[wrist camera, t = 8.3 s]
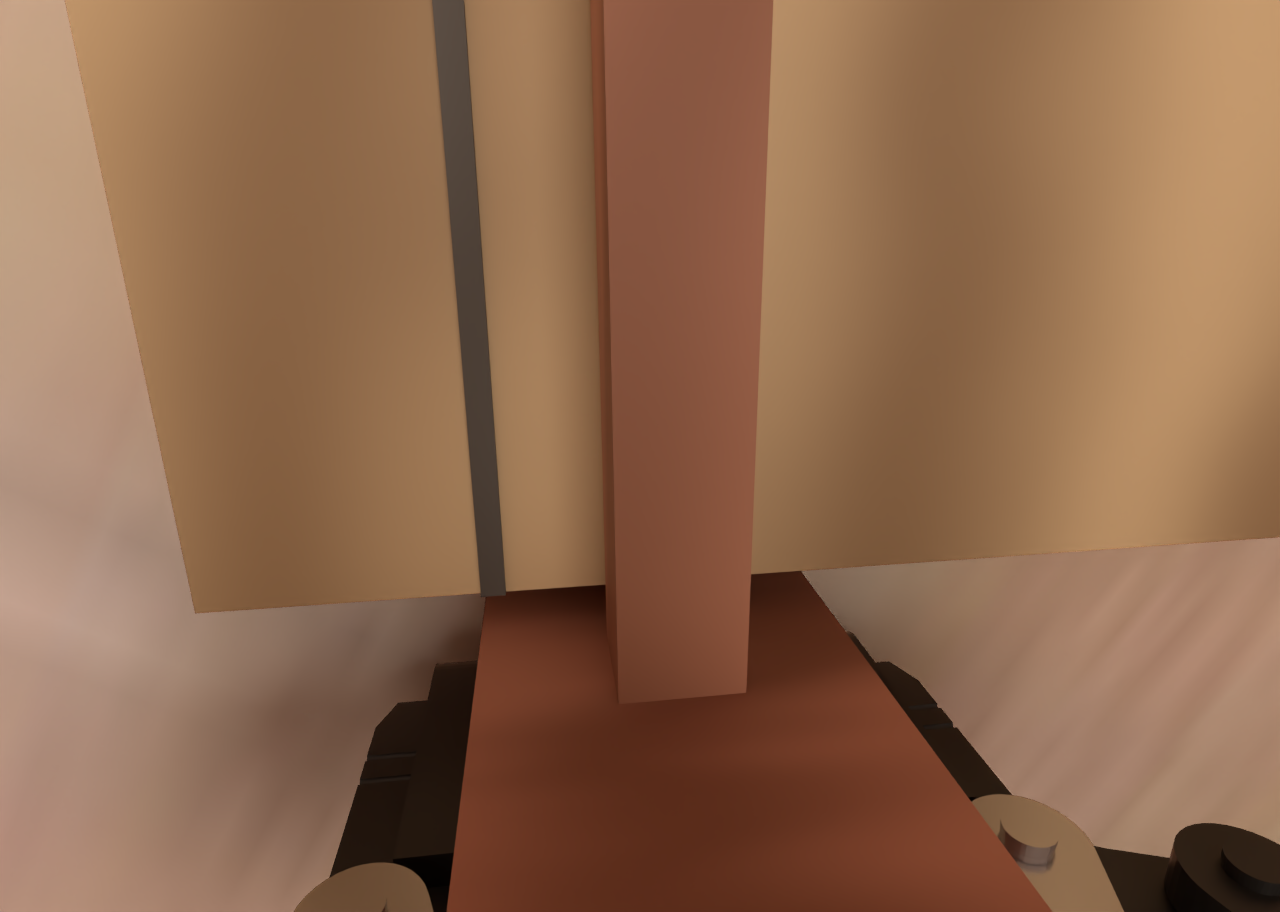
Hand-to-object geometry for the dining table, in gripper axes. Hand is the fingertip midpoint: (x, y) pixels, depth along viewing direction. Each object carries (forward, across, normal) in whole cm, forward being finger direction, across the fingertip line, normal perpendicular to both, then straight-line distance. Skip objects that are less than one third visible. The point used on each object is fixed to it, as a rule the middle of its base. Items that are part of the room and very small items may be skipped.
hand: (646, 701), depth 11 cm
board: (+1, -4, -6) cm, 7 cm away
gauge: (+1, 0, -4) cm, 4 cm away
